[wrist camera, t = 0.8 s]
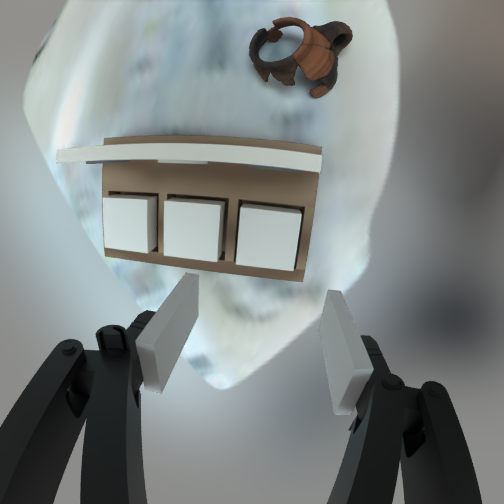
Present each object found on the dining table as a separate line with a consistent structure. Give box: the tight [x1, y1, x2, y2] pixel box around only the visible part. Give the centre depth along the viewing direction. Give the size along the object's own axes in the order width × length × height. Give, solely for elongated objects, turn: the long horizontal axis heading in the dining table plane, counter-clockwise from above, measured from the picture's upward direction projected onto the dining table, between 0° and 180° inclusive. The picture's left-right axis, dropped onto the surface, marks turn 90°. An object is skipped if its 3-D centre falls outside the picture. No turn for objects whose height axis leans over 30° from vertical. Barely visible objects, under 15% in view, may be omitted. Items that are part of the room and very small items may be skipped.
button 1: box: [103, 194, 157, 253], centre depth 30 cm, size 6×6×3 cm
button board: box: [102, 135, 322, 282], centre depth 31 cm, size 15×25×4 cm, turn 85°
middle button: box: [164, 197, 225, 262], centre depth 29 cm, size 6×6×3 cm
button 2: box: [236, 203, 302, 271], centre depth 29 cm, size 6×6×3 cm
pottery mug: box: [249, 17, 353, 98], centre depth 24 cm, size 12×10×8 cm
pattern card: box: [56, 143, 323, 173], centre depth 23 cm, size 2×22×10 cm, turn 85°
